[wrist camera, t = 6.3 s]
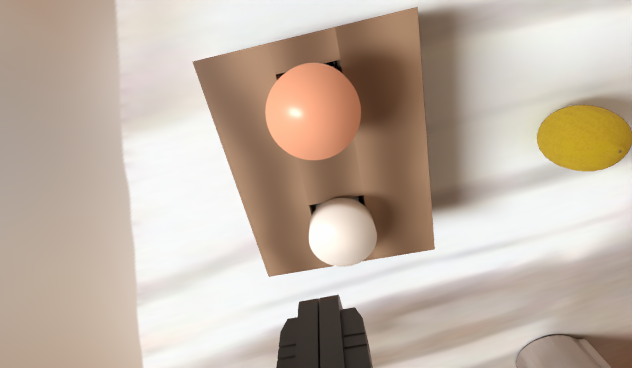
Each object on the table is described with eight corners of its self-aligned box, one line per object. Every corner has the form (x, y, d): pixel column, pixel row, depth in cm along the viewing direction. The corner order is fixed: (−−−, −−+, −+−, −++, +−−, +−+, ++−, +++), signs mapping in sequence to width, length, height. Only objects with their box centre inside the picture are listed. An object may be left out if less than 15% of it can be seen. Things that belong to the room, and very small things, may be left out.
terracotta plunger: (342, 51, 24) (352, 53, 16) (353, 120, 26) (367, 150, 19) (274, 67, 25) (253, 76, 17) (291, 133, 27) (279, 168, 19)
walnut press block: (394, 16, 27) (417, 7, 20) (413, 212, 35) (434, 249, 28) (221, 58, 28) (192, 61, 22) (277, 236, 36) (268, 276, 30)
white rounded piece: (359, 164, 31) (371, 203, 24) (367, 211, 34) (381, 260, 26) (306, 175, 32) (301, 216, 24) (317, 220, 34) (316, 271, 26)
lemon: (589, 119, 30) (676, 142, 23) (544, 163, 32) (610, 197, 25) (552, 87, 29) (631, 100, 22) (507, 134, 31) (566, 161, 24)
